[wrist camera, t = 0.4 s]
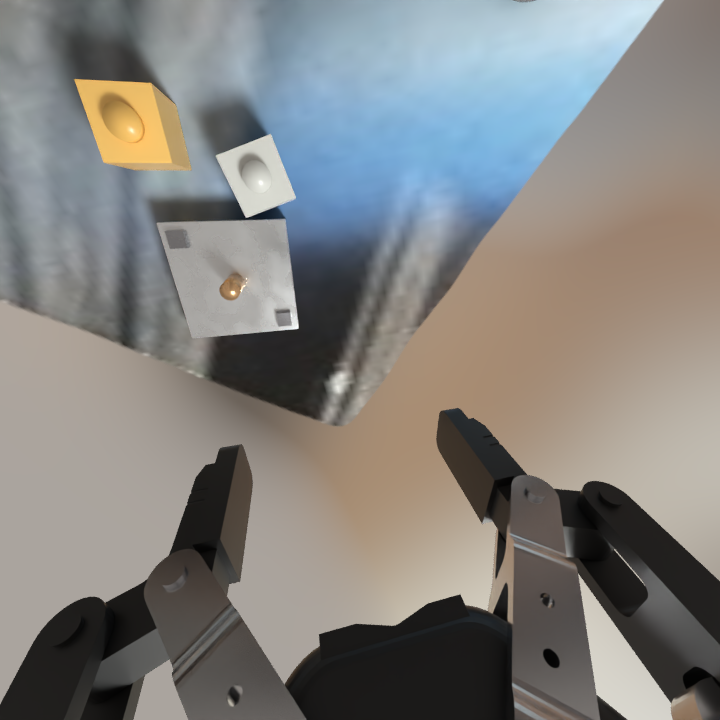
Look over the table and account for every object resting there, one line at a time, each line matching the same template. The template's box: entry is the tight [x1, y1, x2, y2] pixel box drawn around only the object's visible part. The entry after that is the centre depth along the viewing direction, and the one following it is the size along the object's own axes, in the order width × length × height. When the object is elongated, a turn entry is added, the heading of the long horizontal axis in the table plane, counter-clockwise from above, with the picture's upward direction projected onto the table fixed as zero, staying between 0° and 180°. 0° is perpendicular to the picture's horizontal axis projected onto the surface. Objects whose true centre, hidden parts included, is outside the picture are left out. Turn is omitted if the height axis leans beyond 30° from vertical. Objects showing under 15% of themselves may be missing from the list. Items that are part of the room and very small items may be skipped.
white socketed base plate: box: [157, 218, 299, 338], centre depth 31 cm, size 12×12×7 cm
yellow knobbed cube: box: [74, 79, 192, 170], centre depth 25 cm, size 5×5×6 cm
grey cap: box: [216, 134, 296, 218], centre depth 28 cm, size 5×5×6 cm
